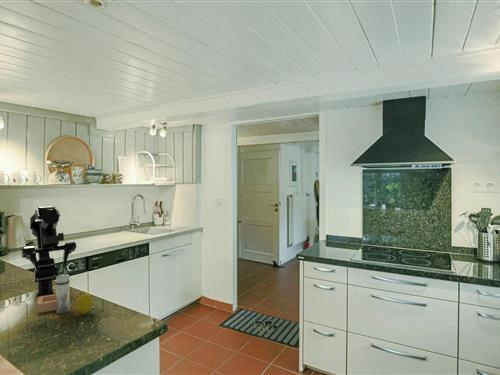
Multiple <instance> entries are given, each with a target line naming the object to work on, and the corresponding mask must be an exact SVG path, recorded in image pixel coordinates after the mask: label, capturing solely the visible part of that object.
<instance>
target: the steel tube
mask: <svg viewBox="0 0 500 375" xmlns="http://www.w3.org/2000/svg"><path fill="white" fill-rule="evenodd" d="M70 282H71V281H70V273H69V274H68V273H62V274H58V275H57V276H56V279H55V294H56V310H55V312H56V314H58V315H63V314H65V313H66V312H67V313H69V312H70V299H71V298H70Z"/></svg>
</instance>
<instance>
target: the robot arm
mask: <svg viewBox="0 0 500 375" xmlns="http://www.w3.org/2000/svg"><path fill="white" fill-rule="evenodd" d="M60 217H61V213H60V211H59V210H58V208H56V206H55V205H51V206H37V208H36V209H35V210H34V214H33V215H32V216H31V217H30V218H29V219H30V220H29V230H31V234H32V235H33V236H35V238H36V247H35V246H34V245H30V246H23V247H22V248H21V258H23V259H24V258H25V260H29V262H31V264H32V265H33V267H34V272H33V282H34V284H35V283H37V292H36V296H35V297H41V296H47V295H54V294H55V288H54V284H53V283H54V280H56V276H57V275H59V268H58V266H57V265H56V263H55V259H54V257H53V258H52V257H51V256H50V252H56V251H63V256H62V257H63V258H62V259H63V268H66V265H67V262H68V257H69V255H71V254H72V253H73V252H75V251H76V249H77V243H76V242H75V241H68V242H67V241H66V242H65V243H64V245H63V244H62V245H59V244H60V241H65V236H64V232H58V233H57V226H58V223H59V221H60ZM37 256H38V258H37Z"/></svg>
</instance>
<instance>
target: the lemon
mask: <svg viewBox="0 0 500 375" xmlns="http://www.w3.org/2000/svg"><path fill="white" fill-rule="evenodd" d="M93 303H94V302H93V298H92V296H91V295H90V294H88V293H85V292H83V293H82V294H81V295H79V296H78V298H76V302H75V307H76V310H77V312H78V313H79V314H83V315H86V314H87V313H88V312H90V310H92V308H93Z"/></svg>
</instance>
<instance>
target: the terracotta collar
mask: <svg viewBox="0 0 500 375" xmlns="http://www.w3.org/2000/svg"><path fill="white" fill-rule="evenodd" d="M37 299H38V300H37V303H36V306H37V307H36V310H37V312H36V313H37V314H43V313H47V312H53V311H56V293H54V294H48V295H42V296H38V298H37Z"/></svg>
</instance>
